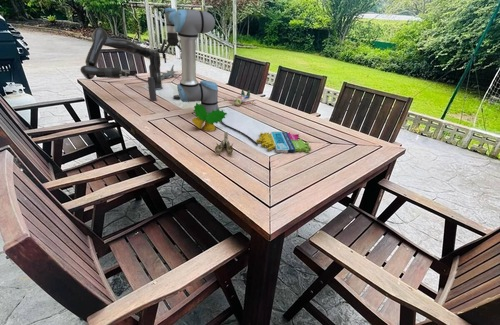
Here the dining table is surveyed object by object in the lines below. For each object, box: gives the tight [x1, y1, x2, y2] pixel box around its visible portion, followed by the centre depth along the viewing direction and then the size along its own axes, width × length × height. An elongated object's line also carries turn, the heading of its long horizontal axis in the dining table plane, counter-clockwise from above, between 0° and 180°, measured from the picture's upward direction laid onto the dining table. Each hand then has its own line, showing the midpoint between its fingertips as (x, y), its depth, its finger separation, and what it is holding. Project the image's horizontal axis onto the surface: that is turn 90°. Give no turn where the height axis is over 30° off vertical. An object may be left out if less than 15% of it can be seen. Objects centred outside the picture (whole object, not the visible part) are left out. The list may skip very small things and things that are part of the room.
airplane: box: [160, 64, 182, 81], centre depth 280 cm, size 38×31×10 cm
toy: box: [223, 89, 257, 106], centre depth 219 cm, size 28×7×30 cm
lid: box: [172, 94, 181, 101], centre depth 216 cm, size 6×6×2 cm
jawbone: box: [214, 131, 234, 156], centre depth 136 cm, size 9×15×10 cm
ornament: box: [191, 101, 228, 132], centre depth 162 cm, size 21×8×15 cm, turn 105°
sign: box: [255, 131, 312, 154], centre depth 152 cm, size 26×2×30 cm
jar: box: [147, 76, 158, 102], centre depth 204 cm, size 5×5×18 cm
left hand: (136, 73), depth 196 cm, fingers open, 8 cm apart
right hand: (174, 62), depth 202 cm, fingers open, 13 cm apart
